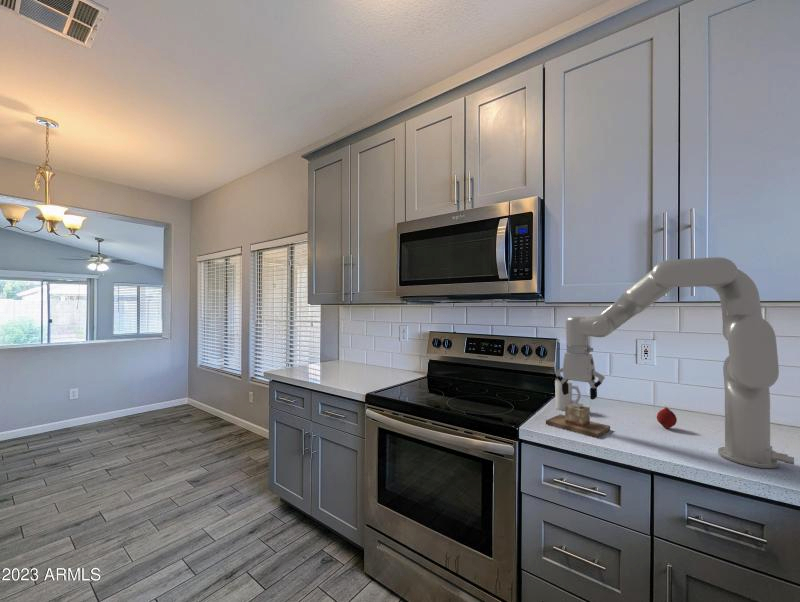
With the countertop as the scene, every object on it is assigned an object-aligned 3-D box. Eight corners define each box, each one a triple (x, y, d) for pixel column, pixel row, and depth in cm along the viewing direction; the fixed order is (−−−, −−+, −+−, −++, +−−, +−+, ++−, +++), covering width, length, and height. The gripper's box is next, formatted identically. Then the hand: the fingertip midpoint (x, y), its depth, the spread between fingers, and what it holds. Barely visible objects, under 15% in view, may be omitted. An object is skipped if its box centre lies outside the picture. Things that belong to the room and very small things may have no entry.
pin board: (610, 430, 127) (610, 425, 127) (597, 438, 119) (597, 433, 119) (560, 417, 140) (560, 414, 140) (545, 424, 132) (545, 420, 132)
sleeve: (589, 423, 129) (589, 407, 129) (582, 427, 125) (583, 410, 125) (572, 419, 134) (572, 403, 134) (565, 422, 130) (565, 406, 130)
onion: (677, 428, 129) (677, 406, 129) (675, 432, 125) (675, 410, 125) (658, 424, 133) (658, 403, 133) (655, 428, 129) (655, 406, 129)
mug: (553, 409, 152) (553, 381, 152) (557, 405, 157) (557, 379, 158) (578, 413, 146) (578, 384, 146) (582, 409, 151) (582, 382, 151)
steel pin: (583, 423, 129) (583, 404, 129) (579, 425, 127) (579, 405, 127) (574, 421, 132) (574, 402, 132) (571, 422, 130) (571, 404, 130)
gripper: (607, 350, 126) (608, 398, 125) (558, 347, 139) (560, 391, 138) (599, 352, 121) (600, 402, 120) (550, 349, 134) (551, 394, 133)
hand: (579, 396), depth 129 cm, fingers open, 9 cm apart
